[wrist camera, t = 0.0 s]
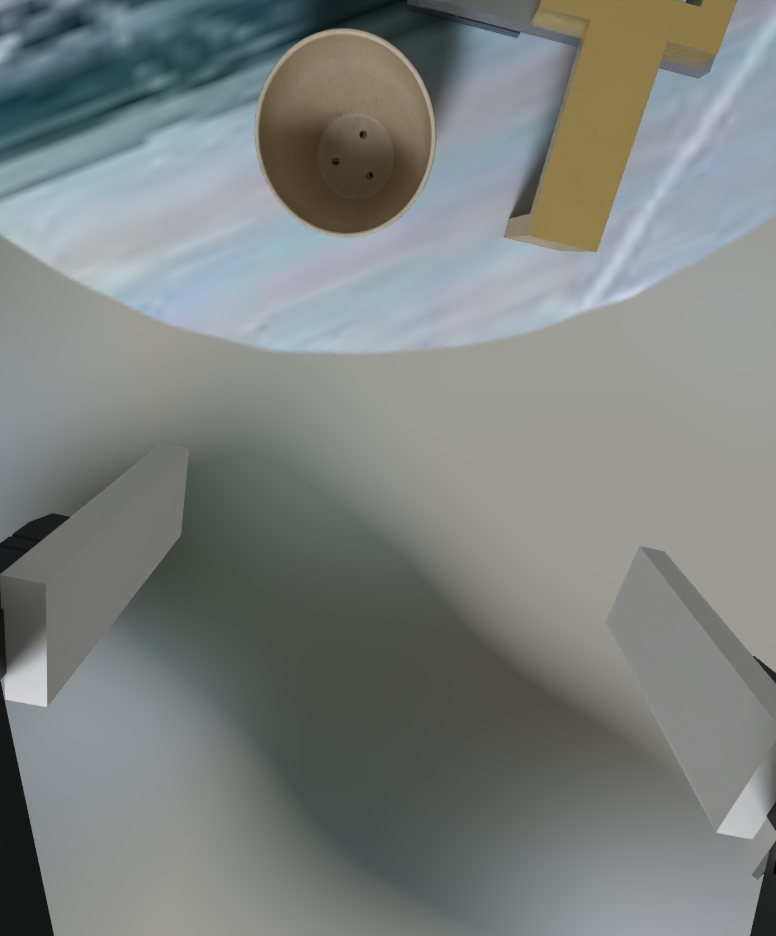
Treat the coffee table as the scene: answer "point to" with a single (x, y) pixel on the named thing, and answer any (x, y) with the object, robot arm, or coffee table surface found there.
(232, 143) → the coffee table surface
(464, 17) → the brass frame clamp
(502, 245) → the coffee table surface
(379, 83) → the flower pot
